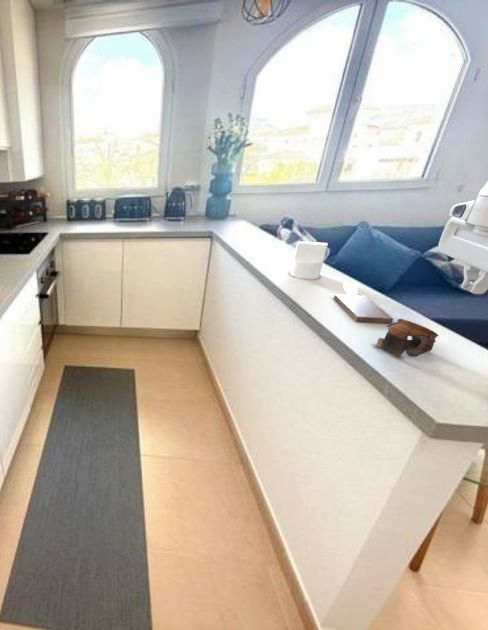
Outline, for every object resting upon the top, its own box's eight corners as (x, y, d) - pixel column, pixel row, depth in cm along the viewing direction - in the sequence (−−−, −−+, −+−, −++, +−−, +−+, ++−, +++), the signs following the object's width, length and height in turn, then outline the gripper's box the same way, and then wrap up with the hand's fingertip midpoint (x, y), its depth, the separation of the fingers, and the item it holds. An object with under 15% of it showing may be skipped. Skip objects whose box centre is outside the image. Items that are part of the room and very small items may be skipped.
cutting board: (364, 299, 105) (365, 295, 105) (391, 323, 92) (393, 318, 91) (333, 298, 108) (334, 294, 107) (355, 321, 94) (357, 316, 93)
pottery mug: (363, 341, 86) (386, 312, 84) (400, 359, 85) (423, 331, 83) (397, 355, 74) (424, 323, 72) (440, 377, 73) (469, 345, 71)
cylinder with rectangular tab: (319, 272, 128) (327, 241, 123) (319, 280, 121) (327, 247, 116) (291, 269, 133) (298, 239, 127) (289, 277, 126) (296, 245, 121)
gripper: (601, 227, 47) (546, 317, 53) (487, 204, 65) (456, 273, 71) (540, 227, 49) (493, 314, 55) (445, 204, 66) (418, 272, 73)
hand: (471, 291), depth 63 cm, fingers closed
